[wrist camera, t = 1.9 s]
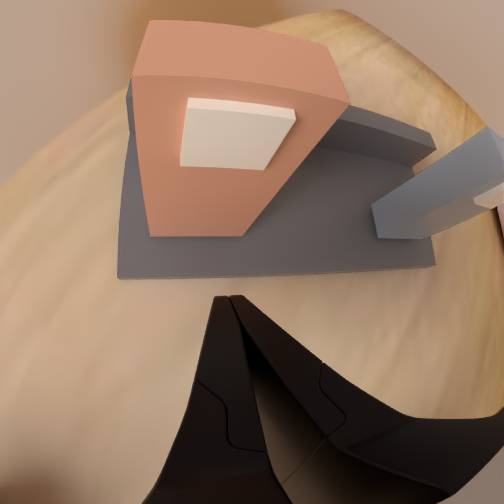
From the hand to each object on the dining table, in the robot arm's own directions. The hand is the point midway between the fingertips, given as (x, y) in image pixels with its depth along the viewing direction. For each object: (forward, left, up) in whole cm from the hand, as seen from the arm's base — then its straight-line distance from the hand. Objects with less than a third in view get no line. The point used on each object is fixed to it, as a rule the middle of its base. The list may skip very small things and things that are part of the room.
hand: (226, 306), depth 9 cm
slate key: (-8, -17, -9) cm, 21 cm away
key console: (0, -13, -11) cm, 17 cm away
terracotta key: (+4, -5, -9) cm, 11 cm away
